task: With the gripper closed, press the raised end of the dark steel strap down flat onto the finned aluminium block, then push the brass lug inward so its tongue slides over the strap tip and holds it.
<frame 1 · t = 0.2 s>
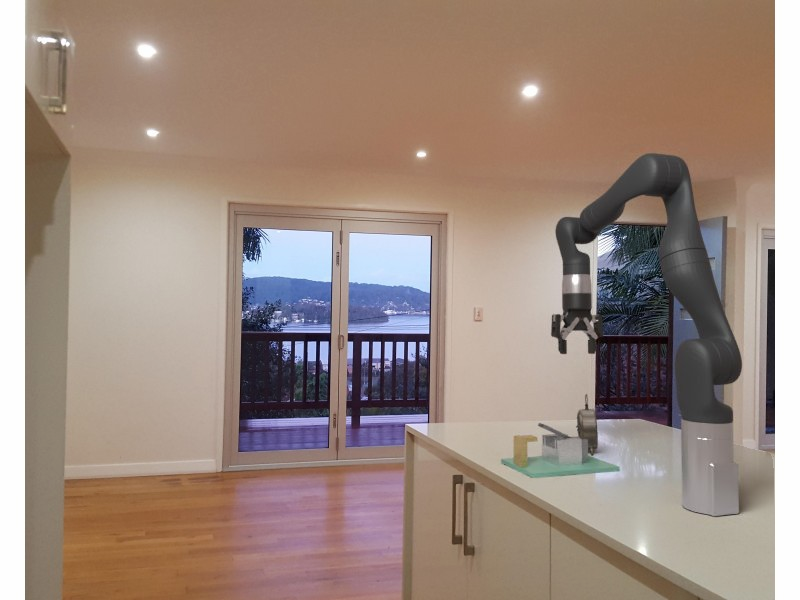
hand: (577, 353, 163), 28 cm above the worktop, fingers open, 8 cm apart
pcb board: (558, 466, 156), on the worktop
heat sink: (566, 449, 157), on the pcb board, point 4 cm above the worktop
lug: (525, 450, 153), point 5 cm above the worktop, slide at 0.0 cm
alarm clock: (586, 452, 173), on the worktop
strap: (561, 434, 156), point 8 cm above the worktop, hinge at 25.0°
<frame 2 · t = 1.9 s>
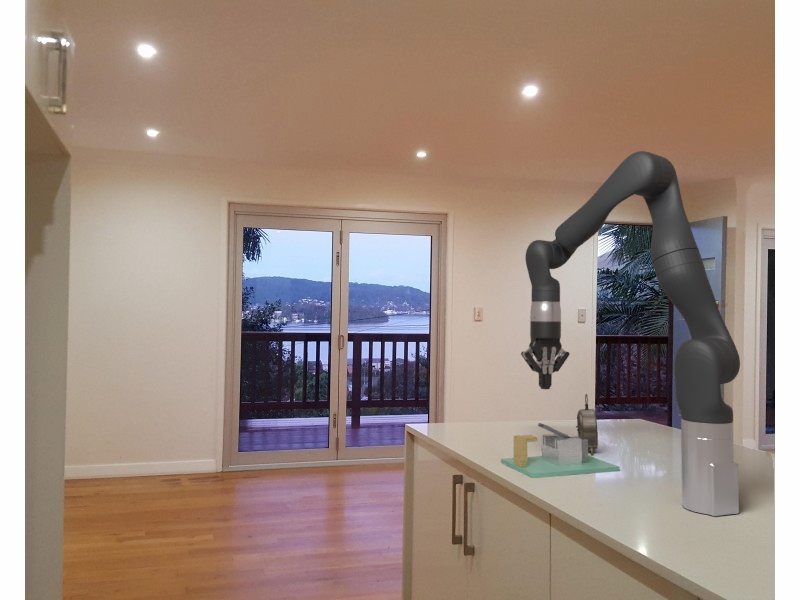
hand: (545, 388, 156), 20 cm above the worktop, fingers closed
nothing on the worktop moved.
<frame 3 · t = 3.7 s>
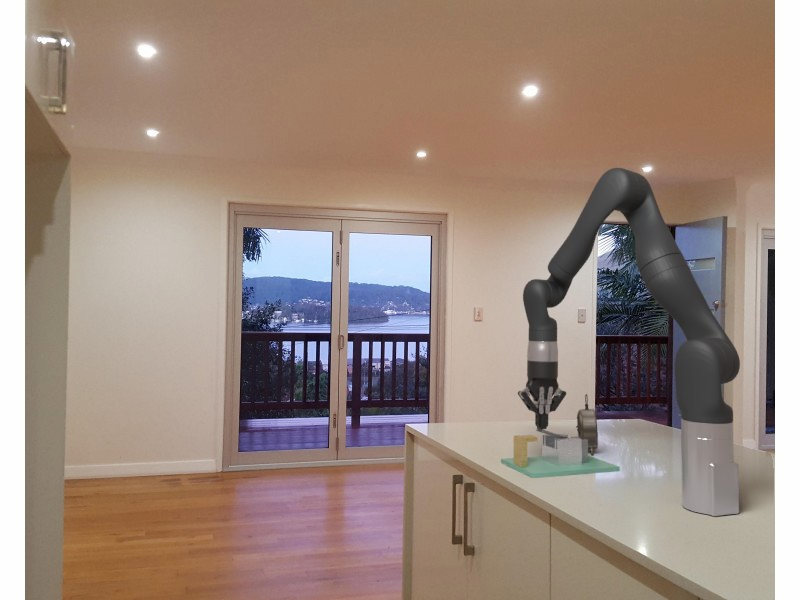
hand: (541, 428, 155), 10 cm above the worktop, fingers closed
strap: (560, 437, 156), point 7 cm above the worktop, hinge at 18.8°, touching gripper
everything else where it was.
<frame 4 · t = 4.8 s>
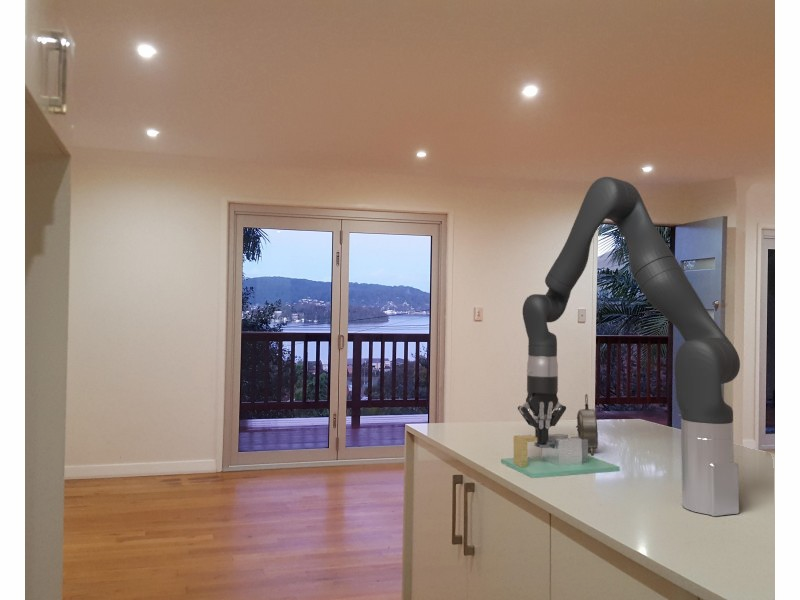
hand: (541, 443, 155), 6 cm above the worktop, fingers closed
strap: (559, 444, 156), point 6 cm above the worktop, hinge at 0.8°, touching gripper
everything else where it was.
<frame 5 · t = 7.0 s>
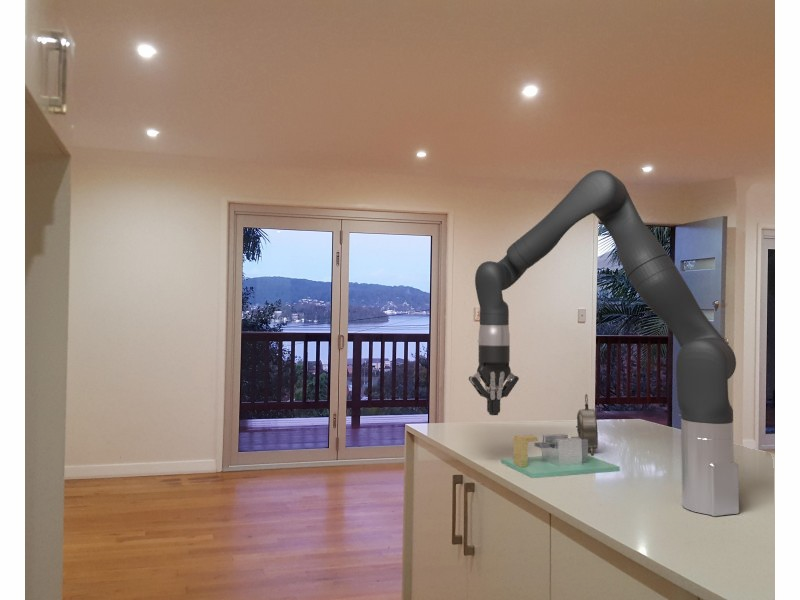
hand: (493, 414, 151), 14 cm above the worktop, fingers closed
strap: (559, 444, 156), point 6 cm above the worktop, hinge at 0.7°
everything else where it was.
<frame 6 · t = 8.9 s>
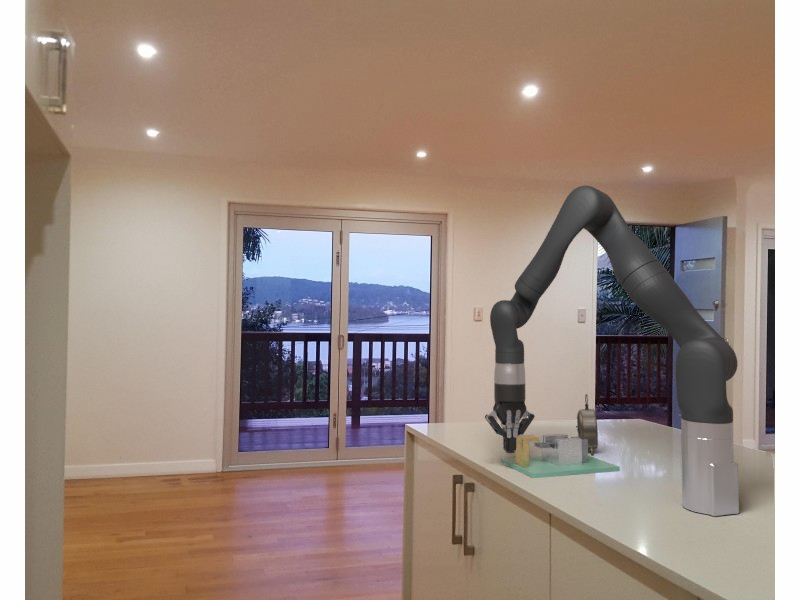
hand: (509, 452, 152), 4 cm above the worktop, fingers closed
lug: (527, 450, 153), point 5 cm above the worktop, slide at 0.4 cm, touching gripper
everything else where it was.
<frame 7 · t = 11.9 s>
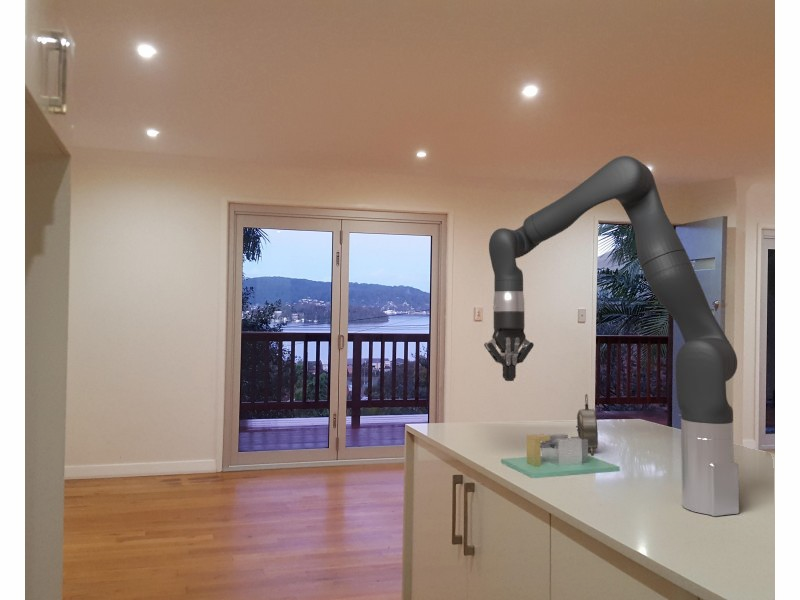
hand: (509, 380, 152), 22 cm above the worktop, fingers closed
lug: (538, 449, 154), point 5 cm above the worktop, slide at 3.6 cm
everything else where it was.
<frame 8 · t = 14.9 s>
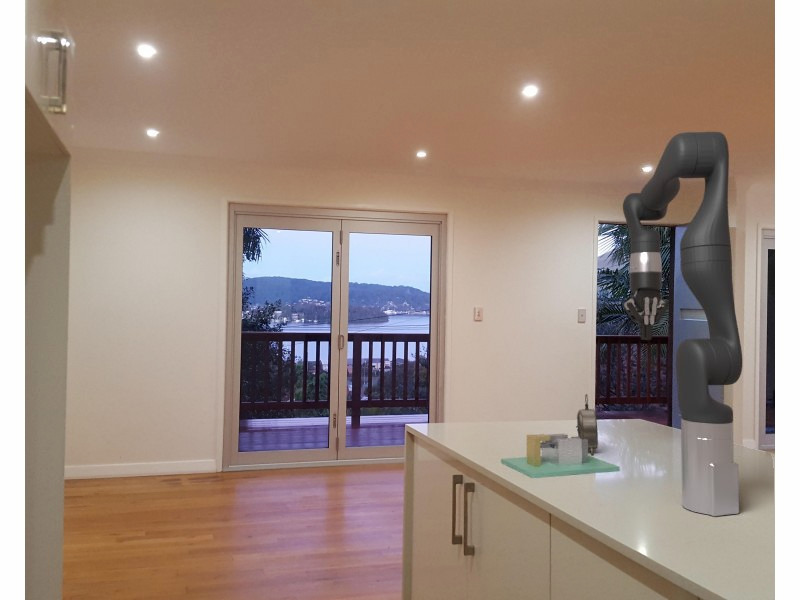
hand: (646, 339, 156), 32 cm above the worktop, fingers closed
nothing on the worktop moved.
at the end: strap at +1° (first picture: +25°); lug slide at 3.6 cm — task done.
